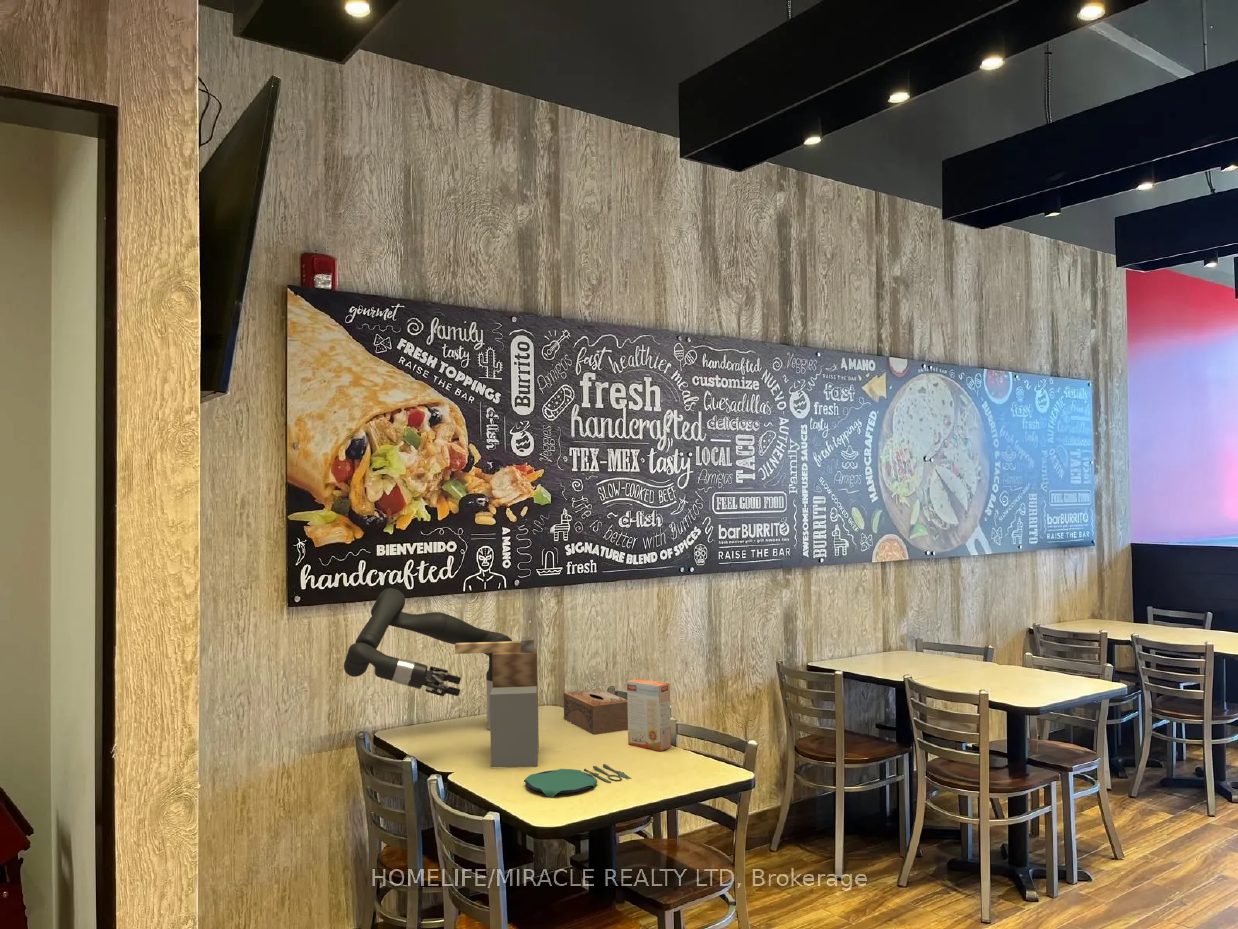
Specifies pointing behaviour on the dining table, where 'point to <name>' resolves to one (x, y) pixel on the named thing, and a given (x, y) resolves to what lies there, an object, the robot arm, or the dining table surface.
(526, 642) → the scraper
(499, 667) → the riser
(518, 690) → the grey tall block
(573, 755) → the dining table surface
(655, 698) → the cracker box
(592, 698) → the tissue box cover
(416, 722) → the dining table surface
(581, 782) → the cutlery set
